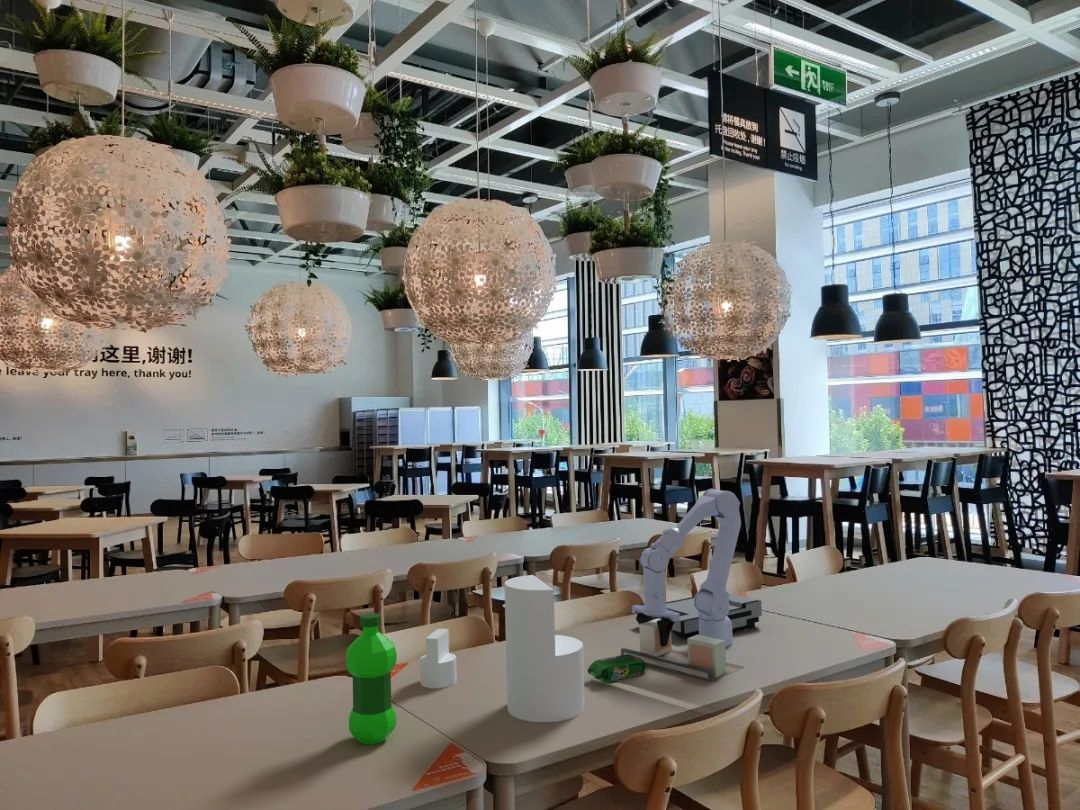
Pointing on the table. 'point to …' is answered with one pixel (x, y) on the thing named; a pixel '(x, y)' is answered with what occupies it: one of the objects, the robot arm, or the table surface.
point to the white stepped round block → (540, 656)
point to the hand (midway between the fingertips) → (656, 643)
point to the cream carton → (652, 639)
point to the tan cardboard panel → (680, 664)
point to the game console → (740, 614)
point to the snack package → (617, 668)
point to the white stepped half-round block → (438, 661)
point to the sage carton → (707, 653)
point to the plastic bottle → (371, 682)
